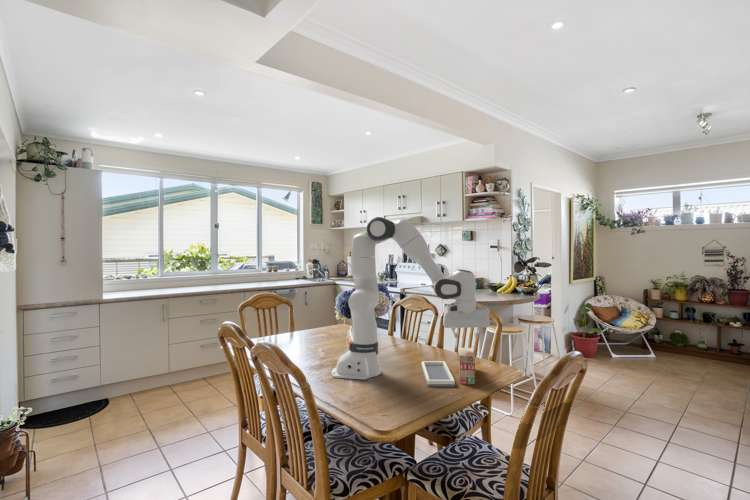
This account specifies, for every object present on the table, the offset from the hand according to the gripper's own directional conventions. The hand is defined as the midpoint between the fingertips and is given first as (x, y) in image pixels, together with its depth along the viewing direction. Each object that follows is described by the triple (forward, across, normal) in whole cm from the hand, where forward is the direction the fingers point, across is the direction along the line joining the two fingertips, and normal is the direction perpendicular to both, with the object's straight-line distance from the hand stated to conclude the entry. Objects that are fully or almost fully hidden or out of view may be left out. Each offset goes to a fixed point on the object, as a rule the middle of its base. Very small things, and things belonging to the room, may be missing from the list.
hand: (466, 337), depth 163 cm
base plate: (+17, +14, 0) cm, 22 cm away
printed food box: (+17, +1, 0) cm, 17 cm away
